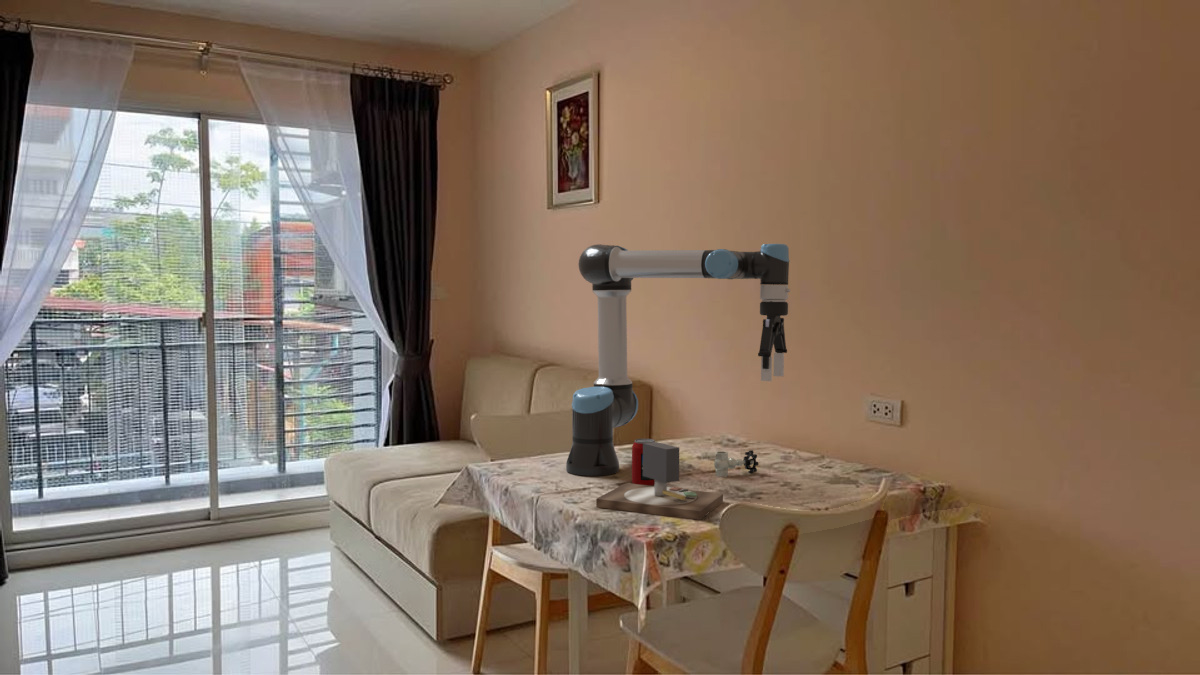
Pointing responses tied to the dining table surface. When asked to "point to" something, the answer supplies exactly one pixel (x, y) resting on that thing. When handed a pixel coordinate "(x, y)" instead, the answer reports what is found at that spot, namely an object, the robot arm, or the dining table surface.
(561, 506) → the dining table surface
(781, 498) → the dining table surface
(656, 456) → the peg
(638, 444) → the beverage can
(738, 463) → the valve
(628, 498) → the brown wooden board
